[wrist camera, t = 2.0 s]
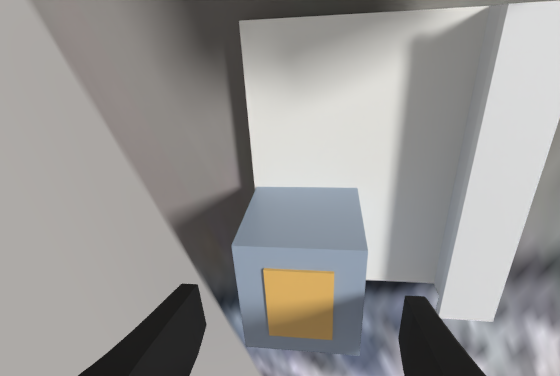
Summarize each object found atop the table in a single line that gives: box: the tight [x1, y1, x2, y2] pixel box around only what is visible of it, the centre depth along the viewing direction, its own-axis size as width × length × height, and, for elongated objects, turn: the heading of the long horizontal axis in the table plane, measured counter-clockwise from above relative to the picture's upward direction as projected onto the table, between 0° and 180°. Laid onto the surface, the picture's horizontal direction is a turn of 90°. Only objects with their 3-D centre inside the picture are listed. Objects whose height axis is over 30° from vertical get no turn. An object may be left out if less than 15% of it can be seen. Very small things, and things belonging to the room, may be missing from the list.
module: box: [231, 187, 368, 356], centre depth 14 cm, size 5×4×5 cm
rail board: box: [239, 1, 560, 322], centre depth 14 cm, size 12×11×3 cm
